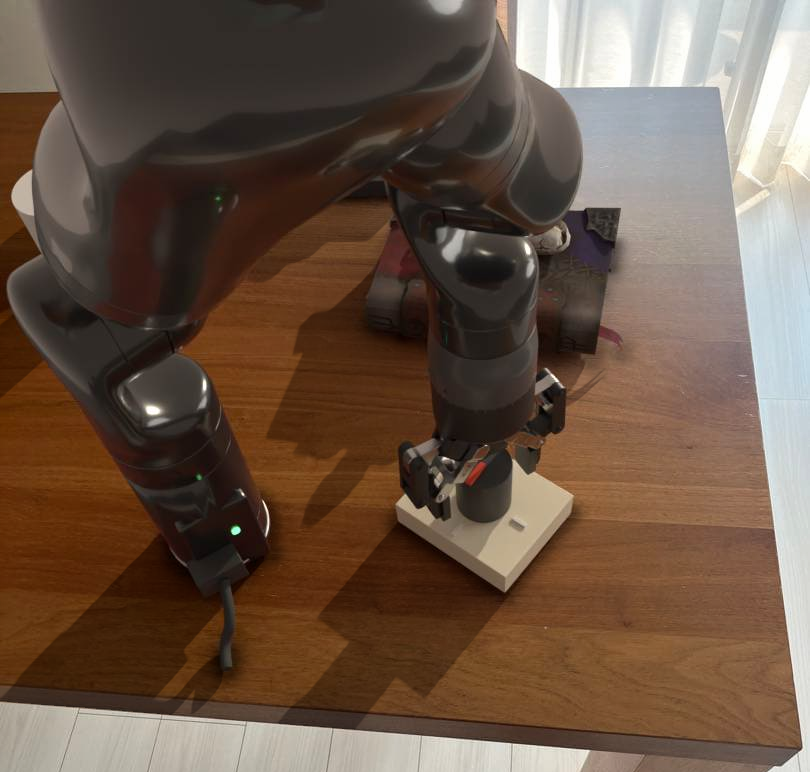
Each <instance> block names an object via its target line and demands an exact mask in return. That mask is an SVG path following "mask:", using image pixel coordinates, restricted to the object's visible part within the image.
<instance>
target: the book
mask: <svg viewBox="0 0 810 772" xmlns="http://www.w3.org/2000/svg"><path fill="white" fill-rule="evenodd" d="M621 211H622V207H585V208H584V209H583V210H574V209H573V210H571V209H569V210H568V212H567V213H566V215H565V216H564V218H563V219H562V220H561V221H560V222H559V223H558V224H557V225H556V226H555V227H553V228H552V229H551V230H549V231H547V232H545V233H544V234H541V235H538V236H532V237H526V238H527V239H528V240H529V241H530V242H531V244H532V245H533V247H534V249H535V251H536V253H537V257H538V261H539V288H538V300H537V315H536V326H537V333H538V353H542V354H551V355H557V353H558V352H565V353H566V352H567V353H574V354H584V355H593V356H595V355H596V352H597V346H598V340H599V338H601V339H603V340H606V341H609V342H611V343H614V344H616V345H617V346H618V348H619V349H620V350H621V351H623V348H622V345H621V343H624V341H623V338H622V337H621V335H620V334H619V333H618V332H616V330H613V329H611V328H608V327H605V326H603V325H601V320H602V316H603V315H602V314H603V309H604V301H605V295H606V289H607V283H608V277H609V273H612V270H613V269H612V268H613V262H614V256H615V249H616V243H617V237H618V231H619V226H620V225H619V224H620V218H621ZM389 228H390V231H389V233H388V237H387V240H386V243H385V245H384V248H383V251H382V254H381V256H380V259H379V262H378V265H377V269H376V270H375V273H374V275H373V279H372V282H371V285H370V288H369V291H368V293H367V294H366V296H365V299H366V302H365V312H364V313H365V320H366V326H367V328H368V329H371V330H381V331H389V332H397V333H402V335H403V337H405V338H415V339H424V340H428V331H429V316H428V304H427V294H426V284H425V281H424V279H423V277H422V274H421V272H420V270H419V268H418V265H417V263H416V260H415V258H414V256H413V254H412V252H411V249H410V247H409V245H408V243H407V241H406V239H405V237H404V235H403V233H402V231H401V229H400V227H399V225H398V223H397V221H396V218H395V216H394V213H393V211H392V212H391V216H390V219H389Z"/></svg>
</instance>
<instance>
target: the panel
mask: <svg viewBox="0 0 810 772" xmlns="http://www.w3.org/2000/svg"><path fill="white" fill-rule="evenodd" d="M512 461H513V475H512V498H511V505H510V508H509V510H508V511H507V513H506V514H505V515H504V516H503V517H501V518H500V519H498V520H496V521H493V522H489V523H478V522H474V521H471V520H469V519H468V518H466V517H465V516H464V515H463V514H462V513H461V512H460V511H459V509H458V506H457V502H456V487H455V486H454V488H453V489H452V491H451V492H450V494H449V496H450V506H451V518H450V519H448V520H446V521H444V522H443V521H442V519H441V518H438V519H435V518H434V516H433V515H432V514H431V512H430V511H429V509H428V508H427V507H426V506H424V507H423V508H421V509H416V508H415V506H414V505H413V503H412V502H411V501H410V499H409V498H408V496H407V495H406V494H405V493H404V494H403V495H402V496H401V498H399V500H397V502H396V503H395V504H394V506H395V511H396V517H397V522H399V524H402V525H403V526H404V527H406V528H407V529H409V530H410V531H412V532H414V533H415V534H416V535H418V536H420V537H421V538H422V539H424V540H425V541H427V542H428V543H430V544H431V545H433V546H434V547H436V548H437V549H439V550H440V551H442V552H443V553H444V554H446V555H447V556H449V557H451V558H452V559H454V560H455V561H457V562H458V563H459V564H461V565H462V566H463V567H466V568H467V569H469V570H470V571H471V572H473V573H475V574H476V575H477V576H479V577H480V578H482V579H483V580H485V581H486V582H488V583H489V584H490V585H492V586H494V587H495V588H497V589H498V590H499V591H501V592H503V593H506V592H507V591H508V590H509V589H510V587H511V586H513V584H514V583H515V581H516V580H518V578H519V576H521V574H522V573H523V572H524V570H525V569H526V568H527V567H528V566H529V565H530V564H531V562H532V561H533V560H534V558H536V556H537V555H538V554H539V552H541V550H542V549H543V548H544V546H545V545H546V544H547V542H548V541H550V539H551V538H552V537H553V535H554V534H555V533H556V532H557V530H558V529H559V528H560V527H561V526H562V525H563V524H564V522H565V521H566V519H568V517H569V516H570V515H571V514H572V509H573V508H572V507H573V501H574V495H573V494H572V493H570V492H568V491H567V490H565V489H564V488H562V487H560V486H558V485H557V484H555V483H553V482H552V481H550V480H548V479H547V478H545V477H544V476H542V475H540V474H538V473H537V472H536V471H535V472H533V473H531V474H529V475H527V474H526V473H525V472H524V471H523V469H522V468H521V467H520V466H519V464H518V463H517V462H516V460H515V459H514V458H512ZM452 462H453V463H455V461H454V460H452ZM436 478H437V479H438V480H439V482H440V483H441V482H442V481H443V475H442V474H441V473H440V472H439V474H438V476H437V477H436Z"/></svg>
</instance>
